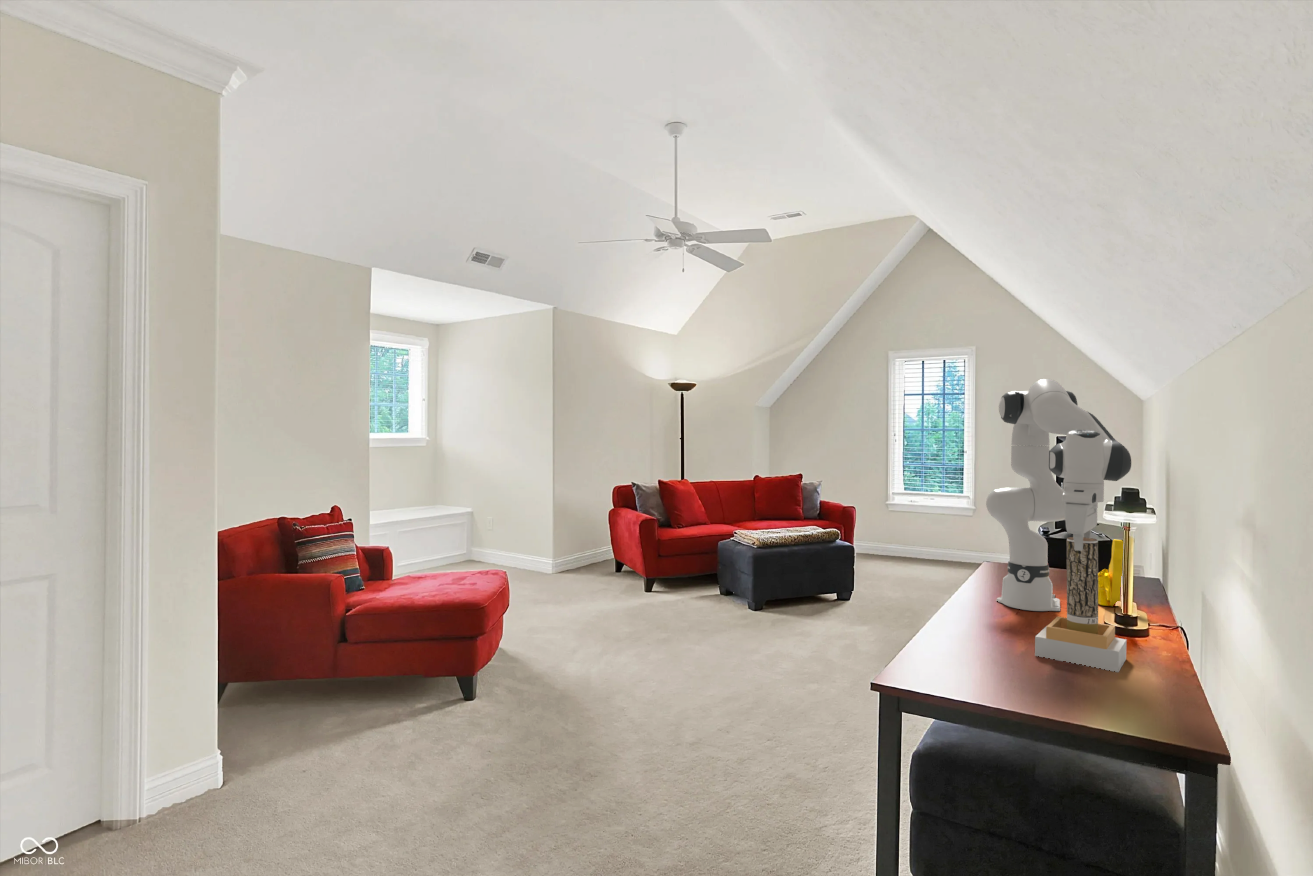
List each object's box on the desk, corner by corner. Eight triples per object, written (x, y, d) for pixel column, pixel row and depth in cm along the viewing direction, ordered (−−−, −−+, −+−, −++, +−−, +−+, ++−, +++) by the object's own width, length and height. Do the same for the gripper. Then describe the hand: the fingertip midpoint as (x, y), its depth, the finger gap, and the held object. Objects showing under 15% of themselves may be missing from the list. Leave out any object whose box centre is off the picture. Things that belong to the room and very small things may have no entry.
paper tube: (1064, 637, 177) (1063, 539, 177) (1070, 631, 182) (1070, 536, 182) (1095, 642, 172) (1094, 541, 172) (1100, 636, 177) (1100, 538, 177)
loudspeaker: (1046, 644, 188) (1046, 614, 188) (1126, 659, 176) (1126, 627, 176) (1034, 655, 178) (1035, 624, 178) (1118, 672, 166) (1119, 639, 166)
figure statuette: (1089, 598, 240) (1091, 534, 240) (1116, 600, 237) (1117, 536, 237) (1101, 610, 224) (1102, 542, 223) (1129, 613, 221) (1131, 544, 220)
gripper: (1076, 490, 186) (1075, 541, 187) (1060, 495, 171) (1059, 551, 171) (1104, 492, 182) (1103, 544, 183) (1090, 497, 167) (1089, 555, 167)
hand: (1082, 548), depth 177 cm, fingers closed on paper tube, 7 cm apart
